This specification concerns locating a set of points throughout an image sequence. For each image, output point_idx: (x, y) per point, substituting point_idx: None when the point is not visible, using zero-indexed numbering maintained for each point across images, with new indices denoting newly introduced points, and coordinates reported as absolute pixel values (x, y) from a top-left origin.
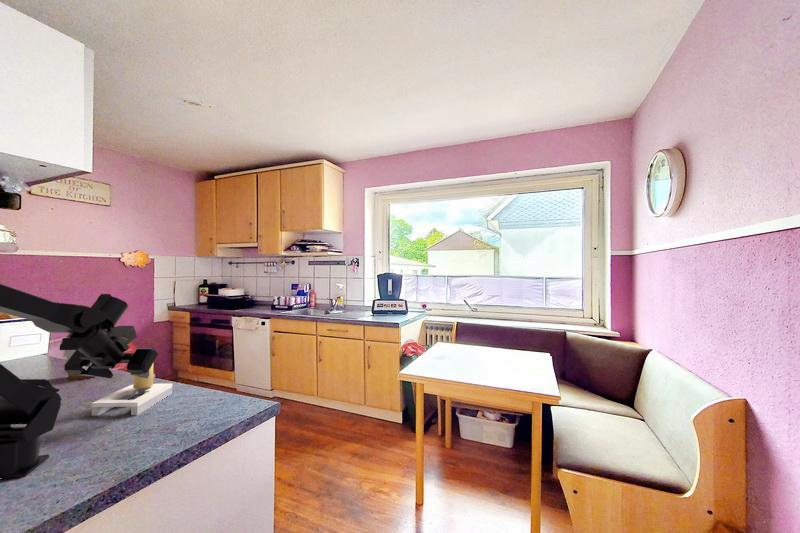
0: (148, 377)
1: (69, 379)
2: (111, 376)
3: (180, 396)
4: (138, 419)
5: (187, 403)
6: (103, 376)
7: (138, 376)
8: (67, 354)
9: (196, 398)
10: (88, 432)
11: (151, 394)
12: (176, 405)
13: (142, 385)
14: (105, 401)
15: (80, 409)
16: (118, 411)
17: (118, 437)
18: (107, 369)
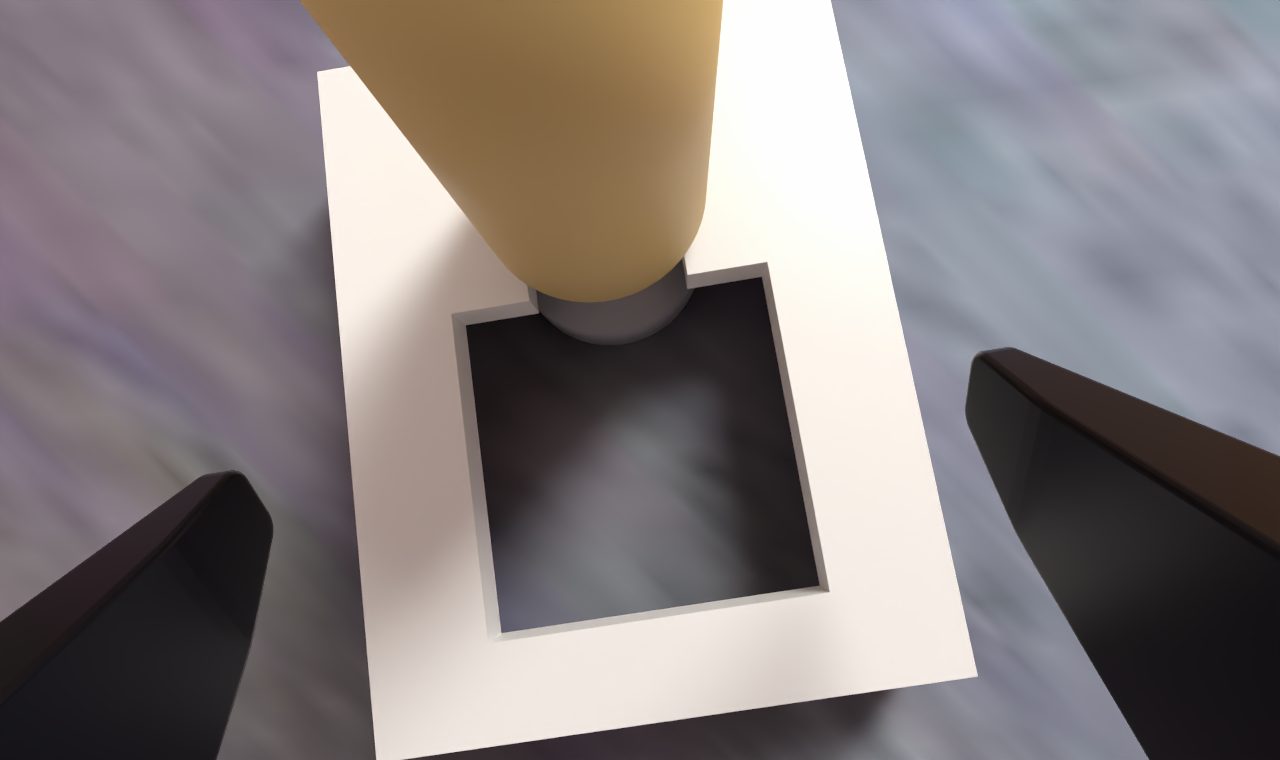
0: (708, 157)
1: None
2: (253, 521)
3: (947, 109)
4: (1031, 739)
5: (1202, 273)
6: (208, 745)
7: (1140, 731)
8: None
9: (1183, 132)
10: None
11: (903, 385)
12: (1123, 341)
13: (661, 263)
14: (507, 692)
15: None
16: (619, 570)
17: None
18: (97, 660)
